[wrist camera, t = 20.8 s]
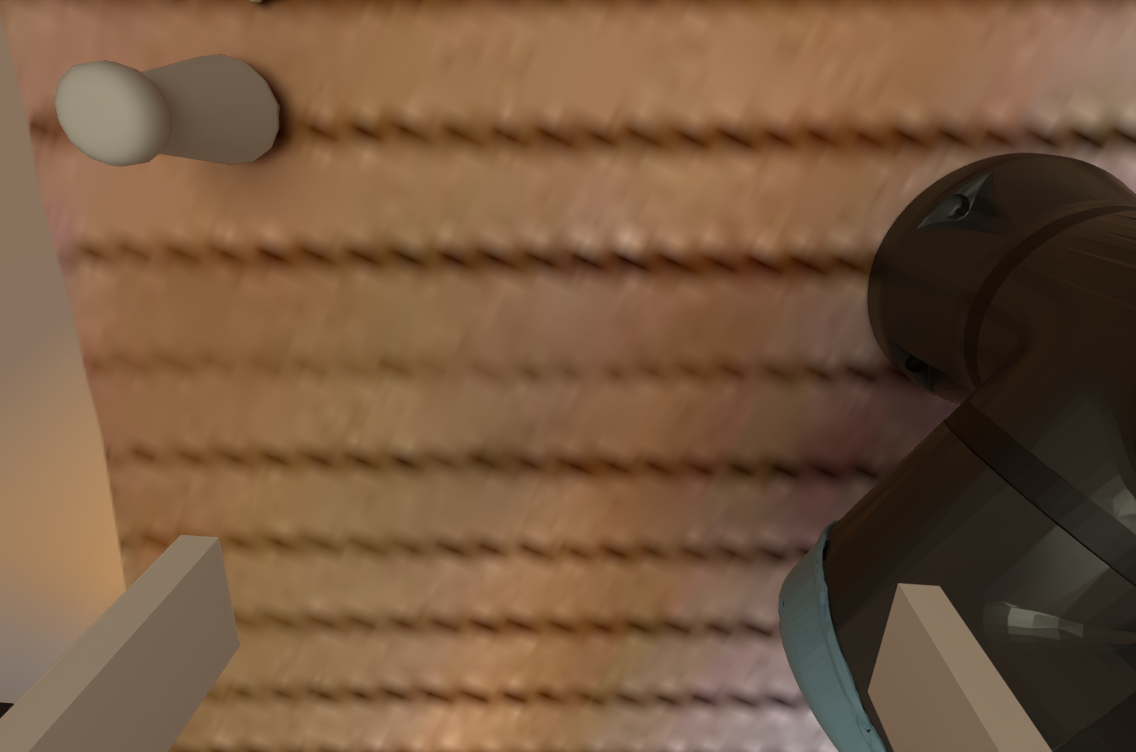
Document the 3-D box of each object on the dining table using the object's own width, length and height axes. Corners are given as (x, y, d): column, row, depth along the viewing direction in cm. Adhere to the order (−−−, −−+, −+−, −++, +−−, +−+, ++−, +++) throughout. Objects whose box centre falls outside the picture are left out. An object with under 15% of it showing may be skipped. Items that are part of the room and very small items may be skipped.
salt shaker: (250, 35, 39) (89, 7, 27) (314, 125, 40) (190, 135, 28) (179, 95, 40) (-4, 93, 28) (245, 179, 42) (98, 211, 30)
